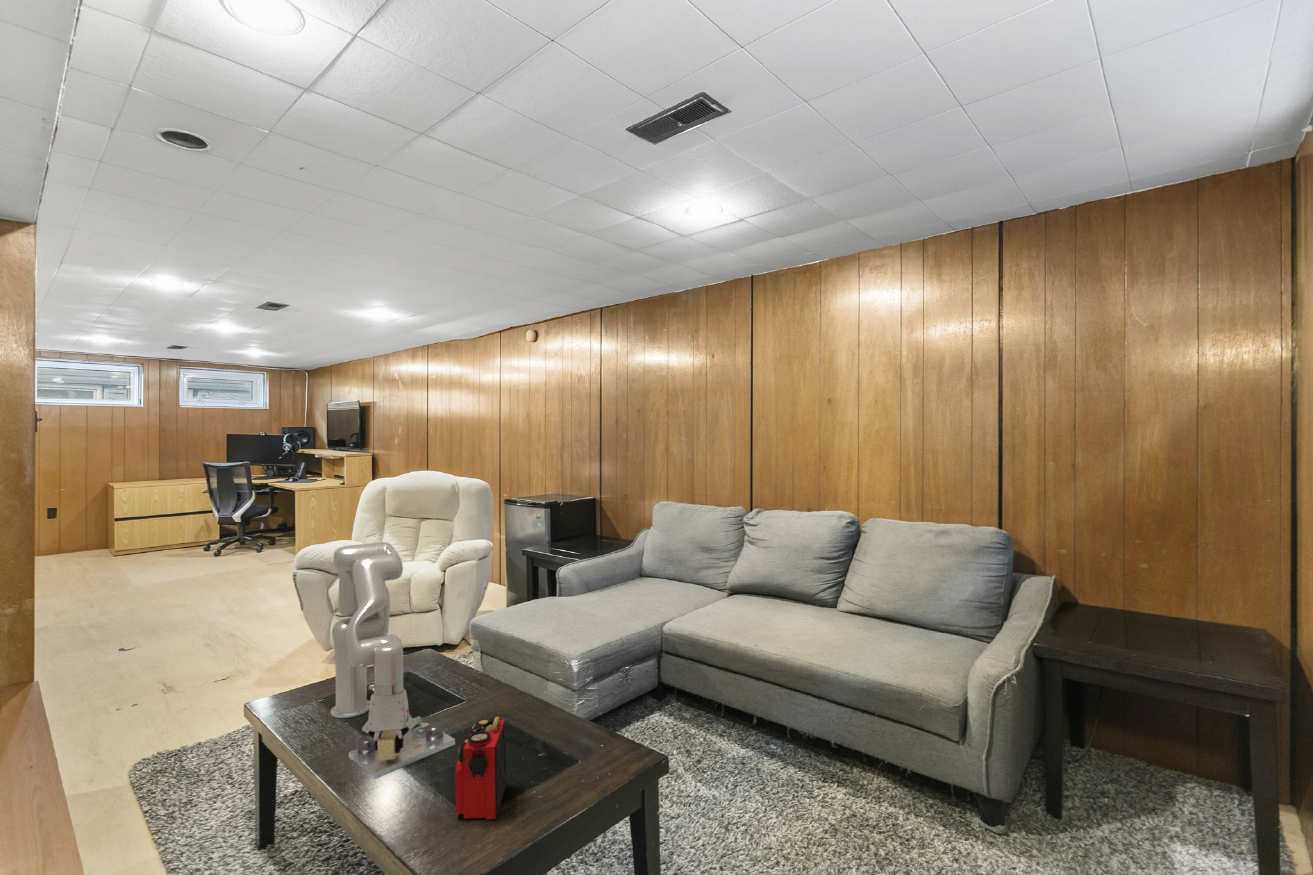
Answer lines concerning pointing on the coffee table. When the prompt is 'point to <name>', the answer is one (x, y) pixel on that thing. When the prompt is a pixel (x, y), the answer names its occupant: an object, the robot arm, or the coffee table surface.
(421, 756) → the levelling base
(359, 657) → the robot arm
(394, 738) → the wooden rectangular block
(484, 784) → the radio
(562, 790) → the coffee table surface
